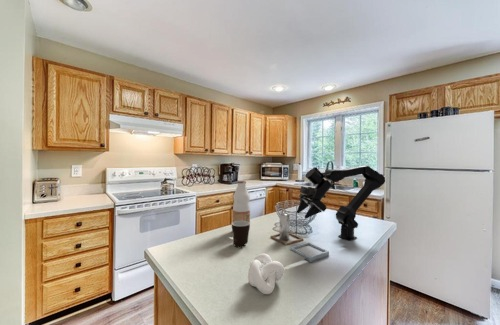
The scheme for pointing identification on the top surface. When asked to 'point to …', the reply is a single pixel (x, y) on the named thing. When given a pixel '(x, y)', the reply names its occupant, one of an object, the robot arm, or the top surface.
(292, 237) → the walnut tray
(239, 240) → the coffee mug
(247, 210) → the fruit juice
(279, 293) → the top surface
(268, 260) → the white knot sculpture
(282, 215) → the scoop cup
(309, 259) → the grey tray
